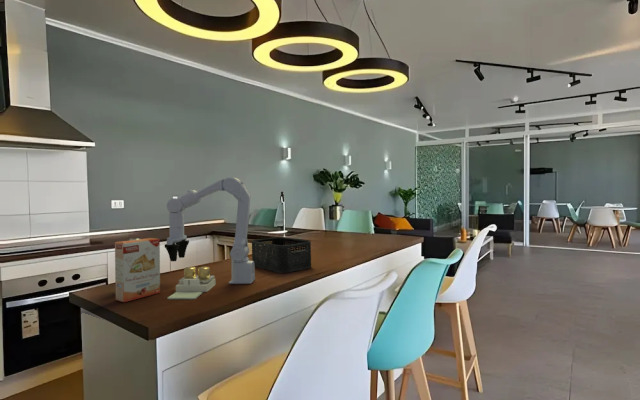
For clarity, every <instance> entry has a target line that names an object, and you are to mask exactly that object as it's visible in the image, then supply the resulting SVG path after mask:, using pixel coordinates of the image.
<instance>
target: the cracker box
mask: <svg viewBox="0 0 640 400" xmlns="http://www.w3.org/2000/svg"><path fill="white" fill-rule="evenodd" d="M160 241H161V240H160V238H157V237H156V238H155V237H147V238H139V239H138V240H130V241H129V240H122V241H115V242H114V255H115V256H114V267H115V268H114V270H115V271H114V274H115V279H114V281H115V287H114V288H115V301H118V302H122V303H127V302H131V301H135V300H137V299H141V298H146V297H149V296H153V295H157V294H160V293H161V267H160V266H161V260H160V259H161V255H160V254H161V250H160V249H161V247H160V245H161V244H160V243H161V242H160Z"/></svg>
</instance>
